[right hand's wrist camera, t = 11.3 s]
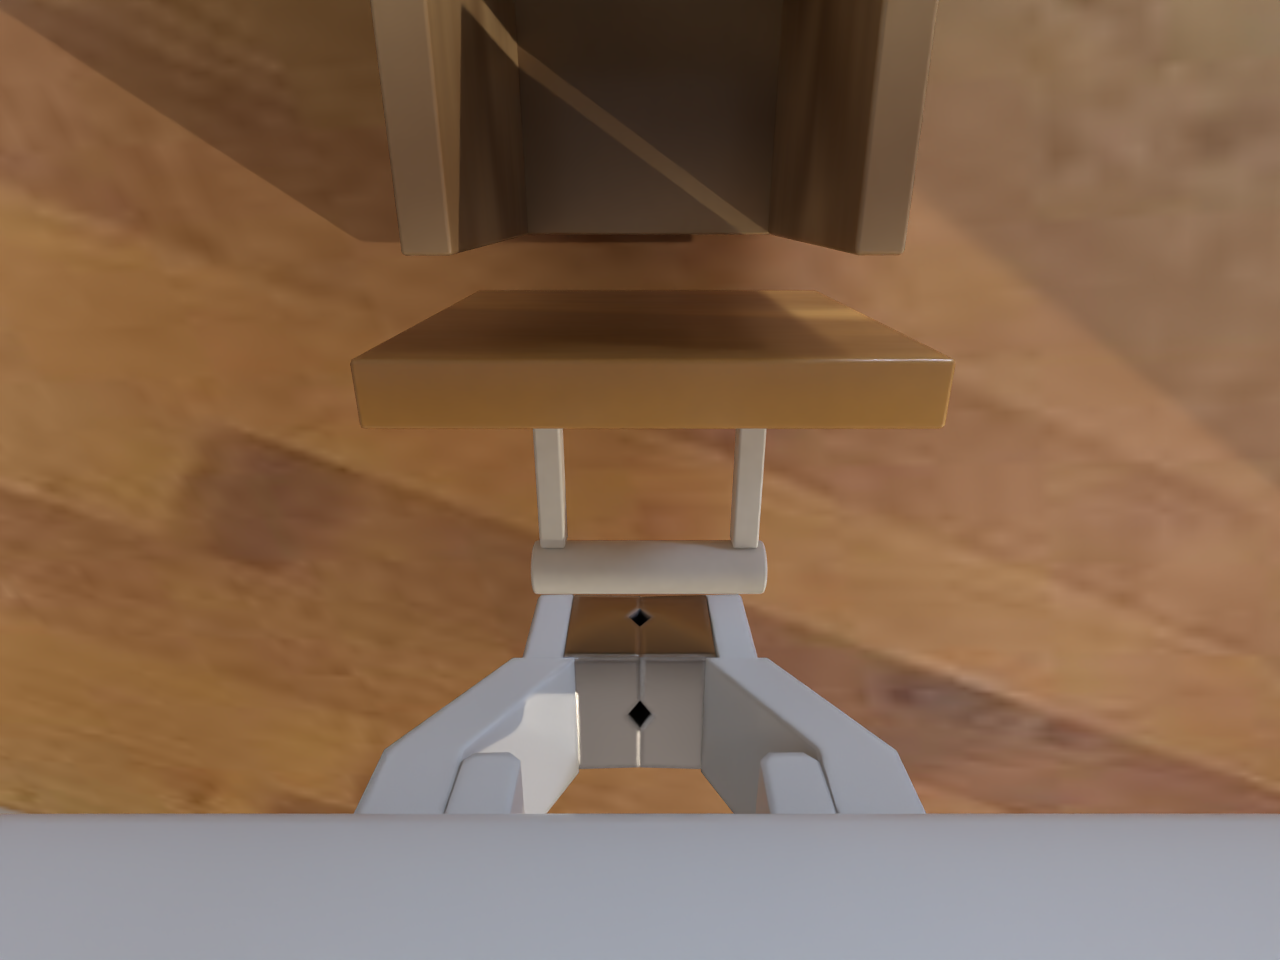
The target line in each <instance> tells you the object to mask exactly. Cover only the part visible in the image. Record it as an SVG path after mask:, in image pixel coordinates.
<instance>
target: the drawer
mask: <svg viewBox="0 0 1280 960" xmlns="http://www.w3.org/2000/svg"><path fill="white" fill-rule="evenodd" d="M938 2H939V0H370V3H371V11H372V19H373V27H374V35H375V43H376V51H377V59H378V67H379V75H380V83H381V91H382V99H383V107H384V115H385V123H386V131H387V139H388V147H389V155H390V163H391V171H392V179H393V187H394V195H395V203H396V211H397V219H398V227H399V235H400V243H401V251H402V253H403V254H404V255H452V254H456V253H460V252H463V251H467V250H471V249H474V248H478V247H482V246H486V245H489V244H493V243H497V242H500V241H504V240H508V239H512V238H515V237H519V236H523V235H526V234H771V235H775V236H779V237H784V238H788V239H792V240H796V241H801V242H805V243H809V244H813V245H818V246H822V247H826V248H830V249H835V250H839V251H843V252H847V253H851V254H856V255H900V254H902V253H903V252H904V250H905V243H906V235H907V228H908V221H909V214H910V206H911V199H912V192H913V184H914V177H915V170H916V163H917V155H918V148H919V141H920V133H921V126H922V119H923V112H924V104H925V97H926V90H927V82H928V75H929V68H930V61H931V53H932V46H933V39H934V31H935V24H936V17H937V10H938ZM350 365H351V371H352V377H353V384H354V390H355V396H356V402H357V408H358V415H359V421H360V425H361V427H362V428H365V429H533V440H534V456H535V472H536V488H537V504H538V520H539V536H540V540H538V541H535V543H534V546H533V549H532V557H531V582H532V588H533V591H534V593H536V594H762V593H763V592H764V591H765V588H766V583H767V556H766V550H765V546H764V544H763V542H762V541H760V540H759V526H760V512H761V498H762V484H763V470H764V457H765V443H766V429H939V428H942V427H944V425H945V421H946V415H947V409H948V403H949V398H950V392H951V386H952V381H953V375H954V369H955V360H954V359H952V358H950V357H948V356H946V355H944V354H942V353H940V352H938V351H936V350H934V349H932V348H930V347H928V346H926V345H924V344H922V343H920V342H918V341H916V340H914V339H912V338H910V337H908V336H906V335H904V334H902V333H900V332H898V331H896V330H894V329H892V328H890V327H888V326H886V325H884V324H882V323H880V322H878V321H876V320H874V319H872V318H870V317H868V316H866V315H864V314H862V313H860V312H858V311H856V310H854V309H851V308H849V307H847V306H845V305H843V304H841V303H839V302H837V301H835V300H833V299H831V298H829V297H827V296H825V295H823V294H821V293H819V292H817V291H815V290H568V291H478V292H476V293H474V294H472V295H470V296H469V297H467V298H465V299H463V300H461V301H459V302H458V303H456V304H454V305H452V306H450V307H448V308H446V309H445V310H443V311H441V312H439V313H437V314H435V315H433V316H432V317H430V318H428V319H426V320H424V321H422V322H420V323H419V324H417V325H415V326H413V327H411V328H409V329H408V330H406V331H404V332H402V333H400V334H398V335H396V336H395V337H393V338H391V339H389V340H387V341H385V342H383V343H382V344H380V345H378V346H376V347H374V348H372V349H370V350H369V351H367V352H365V353H363V354H361V355H359V356H358V357H356V358H354V359H352V360H351V364H350ZM563 429H736V435H735V454H734V472H733V490H732V509H731V527H730V538H731V540H567V537H568V534H567V512H566V490H565V468H564V445H563Z"/></svg>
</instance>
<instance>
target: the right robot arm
mask: <svg viewBox="0 0 1280 960" xmlns="http://www.w3.org/2000/svg"><path fill="white" fill-rule="evenodd" d="M629 767H650V768H686V769H701V772H702V774H703V775H704V776H705V777H706V779H707V780H708V781H709V782H710V784H711V785H712V786H713V788H714V789H715V790H716V791H717V793H718V794H719V795H720V796H721V798H722V799H723V800H724V801H725V803H726V804H727V805H728V807H729V808H730V809H731V810H732V812H733V813H734V814H546V813H547V812H548V811H549V810H550V808H551V807H552V806H553V805H554V803H555V802H556V801H557V800H558V798H559V797H560V796H561V794H562V793H563V792H564V791H565V789H566V788H567V787H568V786H569V784H570V783H571V782H572V781H573V779H574V778H575V777H576V775H577V774H578V773H579V769H593V768H629ZM0 960H1280V814H926V812H925V810H924V808H923V806H922V804H921V802H920V799H919V797H918V795H917V793H916V791H915V789H914V787H913V785H912V782H911V780H910V778H909V776H908V774H907V772H906V770H905V768H904V765H903V763H902V761H901V759H900V757H899V755H898V753H897V751H896V750H895V749H894V748H892V747H891V746H889V745H888V744H887V743H885V742H884V741H882V740H881V739H880V738H878V737H877V736H875V735H874V734H873V733H871V732H870V731H868V730H867V729H866V728H864V727H863V726H861V725H860V724H859V723H857V722H856V721H855V720H853V719H852V718H850V717H849V716H848V715H846V714H845V713H843V712H842V711H841V710H839V709H838V708H836V707H835V706H834V705H832V704H831V703H829V702H828V701H827V700H825V699H824V698H822V697H821V696H820V695H818V694H817V693H815V692H814V691H813V690H811V689H810V688H809V687H807V686H806V685H804V684H803V683H802V682H800V681H799V680H797V679H796V678H795V677H793V676H792V675H790V674H789V673H788V672H786V671H785V670H783V669H782V668H781V667H779V666H778V665H776V664H775V663H774V662H772V661H771V660H769V659H768V658H758V657H757V654H756V650H755V646H754V642H753V639H752V635H751V631H750V627H749V624H748V620H747V616H746V612H745V609H744V605H743V601H742V597H741V596H740V595H738V594H726V595H693V596H652V597H640V596H612V595H575V596H573V594H558V595H541V596H540V597H539V598H538V600H537V604H536V608H535V612H534V616H533V619H532V623H531V627H530V631H529V635H528V638H527V642H526V646H525V650H524V654H523V657H522V658H512V659H511V660H509V661H508V662H506V663H505V664H504V665H502V666H501V667H499V668H498V669H497V670H495V671H494V672H492V673H491V674H490V675H488V676H487V677H485V678H484V679H483V680H481V681H480V682H478V683H477V684H476V685H474V686H473V687H471V688H470V689H469V690H467V691H466V692H464V693H463V694H462V695H460V696H459V697H457V698H456V699H455V700H453V701H452V702H450V703H449V704H448V705H446V706H445V707H443V708H442V709H441V710H439V711H438V712H436V713H435V714H434V715H432V716H431V717H429V718H428V719H427V720H425V721H424V722H422V723H421V724H420V725H418V726H417V727H415V728H414V729H413V730H411V731H410V732H408V733H407V734H406V735H404V736H403V737H401V738H400V739H399V740H397V741H396V742H394V743H393V744H391V745H390V746H389V747H387V748H386V749H384V751H383V753H382V756H381V758H380V760H379V762H378V764H377V766H376V768H375V770H374V772H373V774H372V776H371V779H370V781H369V783H368V785H367V787H366V789H365V791H364V793H363V795H362V797H361V800H360V802H359V804H358V806H357V808H356V810H355V812H354V814H0Z"/></svg>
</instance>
